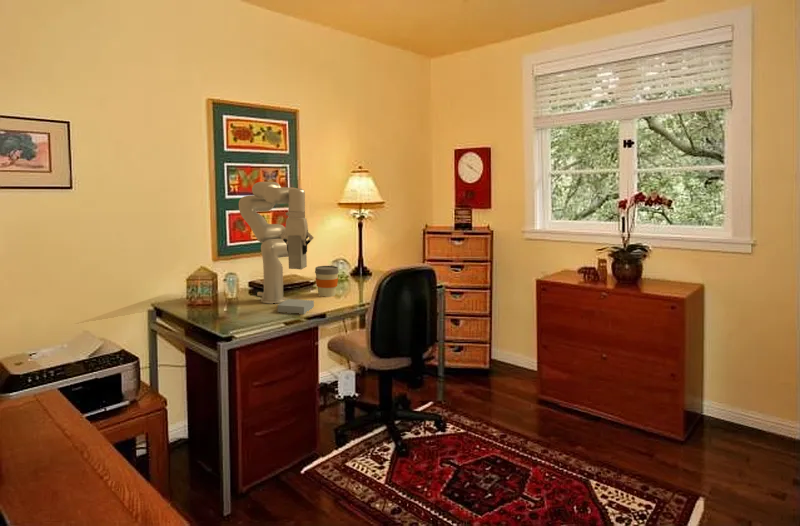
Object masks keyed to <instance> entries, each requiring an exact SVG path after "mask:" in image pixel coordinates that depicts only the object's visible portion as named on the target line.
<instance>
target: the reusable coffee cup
mask: <svg viewBox="0 0 800 526" xmlns="http://www.w3.org/2000/svg"><path fill="white" fill-rule="evenodd" d="M314 273H315V285H316V287H317V293H318V294H317V295H318V296H319V295H320V296H319V297H322V296H325V298H329V297H330V298H331V297H335V296H336V292H337V291H336V290H337V287H338V282H339V276H338V275H339V267H338V266H335V265H318V266H316V267H315V268H314Z"/></svg>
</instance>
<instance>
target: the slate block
mask: <svg viewBox="0 0 800 526" xmlns="http://www.w3.org/2000/svg"><path fill="white" fill-rule="evenodd" d="M313 307H314V308H315V302H314V300H310V299H308V300H307V299H296V298H295V299H293V298H288V299H286V301H284V302H282V303H278V304H277V313H278V312H287V313H286V314H291V313H299V314H298V315H305V314H306V312H307V311H308V312H310V311H311V310H313V309H314V308H313ZM312 308H313V309H312ZM310 309H311V310H310ZM309 310H310V311H309ZM308 312H307V313H308Z"/></svg>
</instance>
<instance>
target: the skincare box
mask: <svg viewBox="0 0 800 526" xmlns="http://www.w3.org/2000/svg"><path fill="white" fill-rule="evenodd" d="M303 245H304V244H303V242H302V240H301V236H288V258H287V259H288V269H291V270H300V271H301V270H303V269H305V268H307V267H308V265H307V261H308V260H307V258H308V257H307V253H306V254H303Z"/></svg>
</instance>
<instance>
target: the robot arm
mask: <svg viewBox="0 0 800 526" xmlns="http://www.w3.org/2000/svg"><path fill="white" fill-rule="evenodd" d="M251 192H252V194H253V195H250V194H249V195H244V196H242V197H241V198H240V199H239V200H238V210H239V213H240V216H241V218H242V219H243V220H244V221H245V223H247V225H248V226H249V227H250V229H251V231H252V233H253V234H254V236H255V239H257V241H258V242H259V243H261V245H260V252H261V256H262V266H263V269H262V271H263V292H262V291H257V293H256V295H257V297H261V299H260V302H261V303H262V304H263V303H264V304H268V305H269V304H273V303H275V304H281V303H282V302H284V301H286V300H287V297H285V296H284V271H283V270H284V267H283V264H282V262H281V261H280V258H287V257H288V236H301V240H302V242H303V244H304V245H303V254H306V255H307V252H308V245H309V244H310V243H311V242H312V241H313V240H314V238H315V237H314V236H313V235H312V234H311V233H310V232H309V227H308V226H309V225H308V220H307V218H306V192H305V189H303V188H296V187H286V186H285V187H284V186H283V187H282V186H281V184H280V183H278V182H277V181H258V182H256V183H254V184H253V185H252V187H251ZM278 204H279V205H281V204H288V211H287V212H285V216H288V217H287V218H286V219H285V220H286V222H285V226H284V225H283V224H280V223H279V224H278V223H268V221H266V218H265V217H264V216H263V215H262V214H260V213H258V212H268V211H271V210H273V208H274V206H275V205H278Z"/></svg>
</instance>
